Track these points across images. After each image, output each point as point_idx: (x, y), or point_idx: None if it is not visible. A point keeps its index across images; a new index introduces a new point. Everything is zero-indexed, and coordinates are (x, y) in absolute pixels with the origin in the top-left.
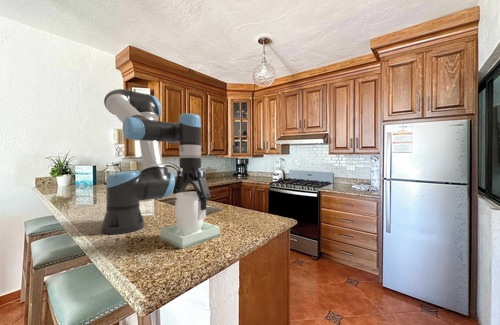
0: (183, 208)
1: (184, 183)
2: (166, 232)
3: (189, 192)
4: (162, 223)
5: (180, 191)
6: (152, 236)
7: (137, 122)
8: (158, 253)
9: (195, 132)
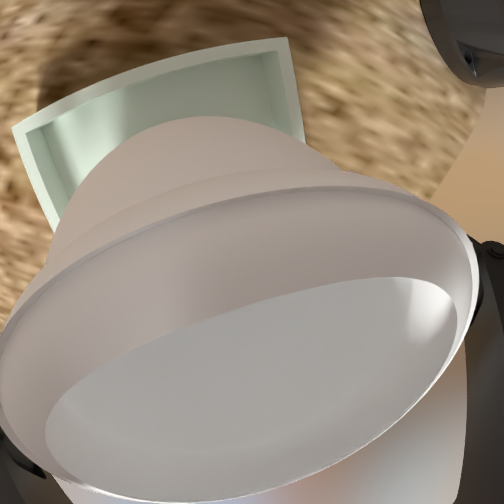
0: (64, 210)
1: (487, 492)
2: (199, 50)
3: (411, 394)
4: (445, 145)
5: (486, 325)
6: (320, 29)
7: None
8: (52, 12)
9: None
